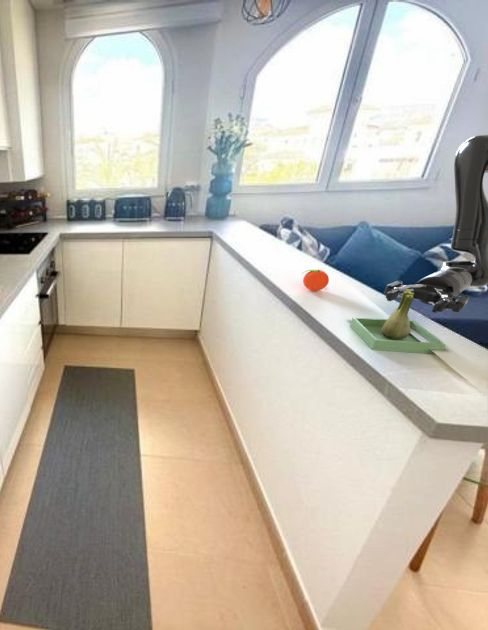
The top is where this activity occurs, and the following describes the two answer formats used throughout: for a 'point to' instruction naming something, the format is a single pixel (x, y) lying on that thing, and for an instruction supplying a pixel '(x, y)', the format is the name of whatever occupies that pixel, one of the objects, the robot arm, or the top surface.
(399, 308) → the fennel bulb
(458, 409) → the top surface
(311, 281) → the tomato
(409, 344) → the green tray
